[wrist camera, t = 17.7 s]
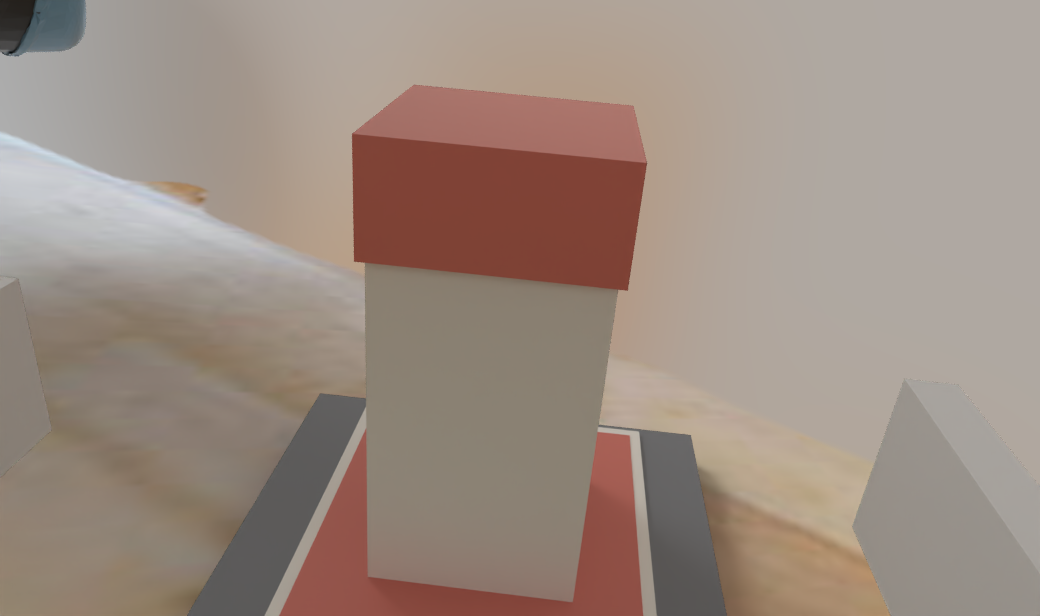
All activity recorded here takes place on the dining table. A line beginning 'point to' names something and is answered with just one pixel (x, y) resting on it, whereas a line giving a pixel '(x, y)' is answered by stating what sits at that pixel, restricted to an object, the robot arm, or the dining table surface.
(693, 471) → the grey flat board
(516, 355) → the block
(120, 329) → the dining table surface
